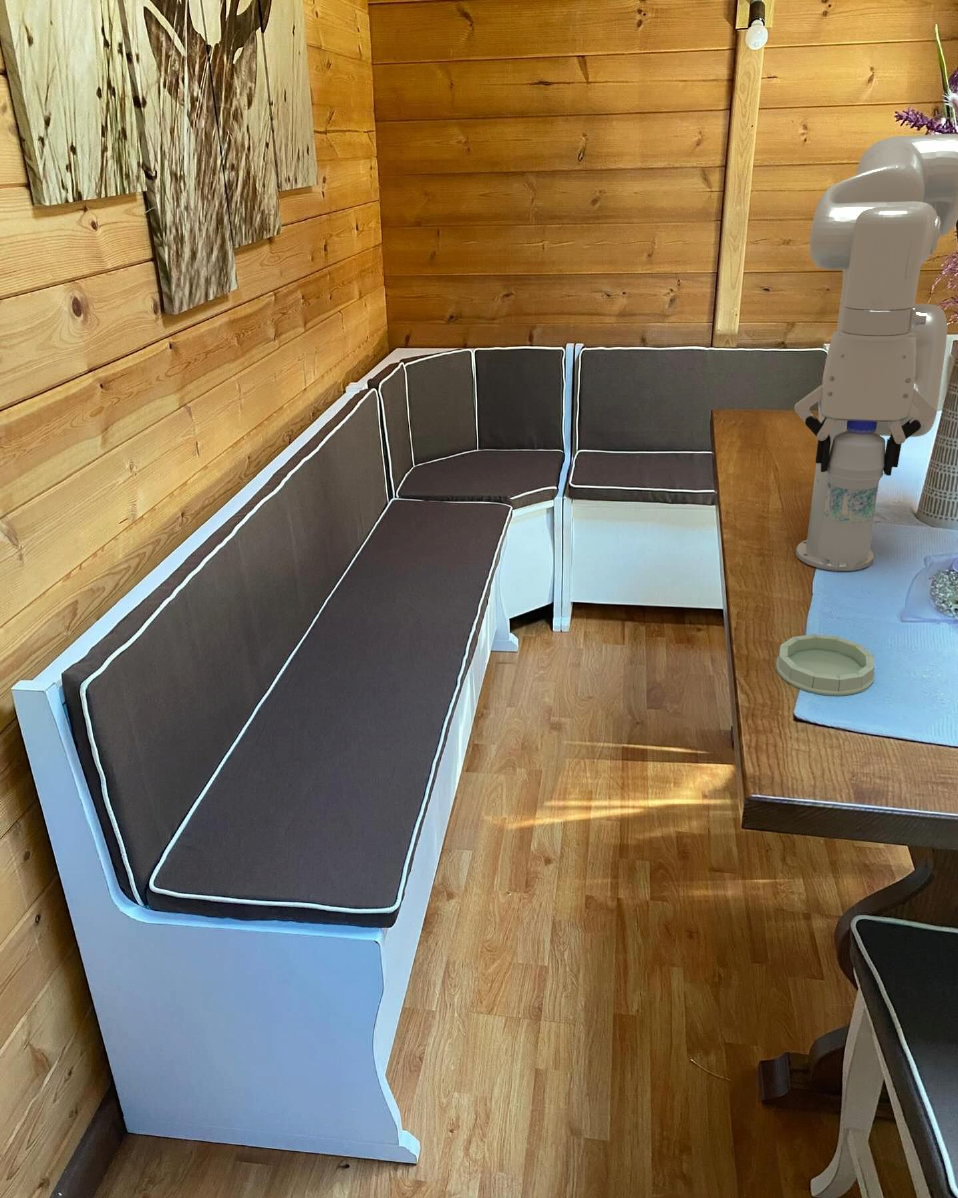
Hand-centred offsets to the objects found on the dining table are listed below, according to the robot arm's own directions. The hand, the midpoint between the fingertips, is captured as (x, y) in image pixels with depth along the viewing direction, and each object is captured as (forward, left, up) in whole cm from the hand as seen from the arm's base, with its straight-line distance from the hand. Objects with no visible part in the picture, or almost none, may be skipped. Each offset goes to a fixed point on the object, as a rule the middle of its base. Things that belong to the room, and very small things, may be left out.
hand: (854, 469), depth 112 cm
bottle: (0, 0, -13) cm, 13 cm away
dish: (+2, 0, -28) cm, 28 cm away
